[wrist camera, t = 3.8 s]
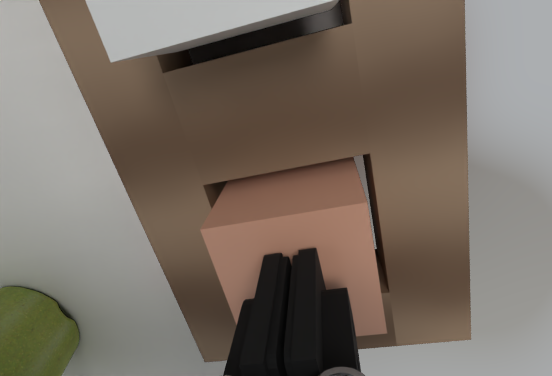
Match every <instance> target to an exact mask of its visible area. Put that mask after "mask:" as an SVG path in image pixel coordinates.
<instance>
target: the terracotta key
mask: <svg viewBox="0 0 552 376" xmlns="http://www.w3.org/2000/svg"><path fill="white" fill-rule="evenodd" d="M200 231H201V234H202V236H203V239H204V241H205V244H206V247H207V249H208V252H209V254H210V257H211V260H212V262H213V265H214V268H215V270H216V273H217V275H218V278H219V281H220V283H221V286H222V288H223V291H224V294H225V296H226V299H227V301H228V304H229V307H230V309H231V312H232V314H233V317H234V320H235V322H236V325H237V322H238V318H239V314H240V310H241V307H242V304H243V301H244V300H245V299H253V298H254V297H255V292H256V288H257V283H258V279H259V275H260V270H261V266H262V261H263V257H264V255H268V254H275V253H282V255H283V257H287V256H288V257H289V259H290V262H291V266H292V259H293V256H294V255H298V252H299V250H303V249H310V248H316V249H317V252H318V256H319V261H320V265H321V269H322V274H323V278H324V282H325V287H326V290H329V289H337V288H346V287H347V289H348V294H349V299H350V304H351V309H352V314H353V320H354V326H355V333H356V336H366V335H376V334H387V328H386V322H385V315H384V309H383V302H382V295H381V289H380V282H379V275H378V269H377V262H376V256H375V249H374V242H373V236H372V229H371V222H370V216H369V209H368V203H367V199H366V196H365V193H364V190H363V187H362V184H361V180H360V177H359V174H358V171H357V168H356V164H355V161H354V158H353V157H348V158H343V159H338V160H333V161H327V162H322V163H317V164H312V165H306V166H301V167H296V168H291V169H285V170H280V171H275V172H270V173H264V174H259V175H254V176H249V177H243V178H238V179H233V180H228V181H227V183H226V185H225V187H224V189H223V190H222V192H221V194H220V196H219V197H218V199H217V201H216V203H215V204H214V206H213V208H212V210H211V211H210V213H209V215H208V217H207V218H206V220H205V222H204V224H203V225H202V227H201V229H200Z"/></svg>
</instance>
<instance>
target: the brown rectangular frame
mask: <svg viewBox="0 0 552 376" xmlns="http://www.w3.org/2000/svg"><path fill="white" fill-rule="evenodd" d="M39 2H40V4H41V6H42V8H43V10H44V13H45V15H46V17H47V19H48V21H49V23H50V26H51V28H52V30H53V32H54V34H55V37H56V39H57V41H58V43H59V45H60V47H61V50H62V52H63V54H64V56H65V58H66V61H67V63H68V65H69V67H70V69H71V71H72V74H73V76H74V78H75V80H76V82H77V84H78V87H79V89H80V91H81V93H82V95H83V98H84V100H85V102H86V104H87V106H88V108H89V111H90V113H91V115H92V117H93V119H94V122H95V124H96V126H97V128H98V130H99V132H100V135H101V137H102V139H103V141H104V143H105V145H106V148H107V150H108V152H109V154H110V156H111V159H112V161H113V163H114V165H115V167H116V169H117V172H118V174H119V176H120V178H121V180H122V182H123V185H124V187H125V189H126V191H127V193H128V196H129V198H130V200H131V202H132V204H133V206H134V209H135V211H136V213H137V215H138V217H139V220H140V222H141V224H142V226H143V228H144V230H145V233H146V235H147V237H148V239H149V241H150V243H151V246H152V248H153V250H154V252H155V254H156V257H157V259H158V261H159V263H160V265H161V267H162V270H163V272H164V274H165V276H166V278H167V280H168V283H169V285H170V287H171V289H172V291H173V294H174V296H175V298H176V300H177V302H178V304H179V307H180V309H181V311H182V313H183V315H184V318H185V320H186V322H187V324H188V326H189V328H190V331H191V333H192V335H193V337H194V339H195V341H196V344H197V346H198V348H199V350H200V352H201V355H202V357H203V359H204V361H205V362H213V361H225V360H228V356H229V352H230V348H231V344H232V341H233V337H234V333H235V329H236V326H237V325H236V322H235V320H234V317H233V314H232V312H231V309H230V307H229V304H228V301H227V299H226V296H225V294H224V291H223V288H222V286H221V283H220V281H219V278H218V275H217V273H216V270H215V268H214V265H213V262H212V260H211V257H210V254H209V252H208V249H207V247H206V244H205V241H204V239H203V236H202V234H201V231H200V229H201V227H202V225H203V224H204V222H205V220H206V218H207V217H208V215H209V213H210V211H211V210H212V208H213V206H214V204H215V203H216V201H217V199H218V197H219V196H220V194H221V192H222V190H223V189H224V187H225V185H226V183H227V181H228V180H233V179H238V178H243V177H249V176H254V175H259V174H264V173H270V172H275V171H280V170H285V169H291V168H296V167H301V166H306V165H312V164H317V163H322V162H327V161H333V160H338V159H343V158H348V157H353V156H359V155H363V158H364V165H365V171H366V179H367V186H368V192H369V199H370V206H371V213H372V219H373V226H374V233H375V239H376V247H377V249H375V256H376V262H377V269H378V275H379V282H380V289H381V295H382V302H383V309H384V315H385V322H386V328H387V334H376V335H366V336H356V340H357V347H358V349H366V348H378V347H389V346H401V345H413V344H423V343H437V342H449V341H459V340H471V311H470V262H469V261H470V260H469V209H468V208H469V206H468V154H467V105H466V104H467V103H466V54H465V53H466V52H465V51H466V49H465V0H340V3H341V10H342V16H343V23H344V25H341V26H338V27H334V28H330V29H326V30H322V31H319V32H315V33H311V34H307V35H304V36H300V37H296V38H292V39H288V40H285V41H281V42H277V43H273V44H269V45H266V46H262V47H258V48H254V49H251V50H247V51H243V52H239V53H235V54H232V55H228V56H224V57H220V58H216V59H213V60H209V61H205V62H201V63H198V64H194V65H193V63H192V60H191V57H190V54H189V51H188V49H187V50H183V51H179V52H175V53H168V54H162V55H156V56H149V57H143V58H137V59H130V60H124V61H118V62H112V63H111V62H110V59H109V57H108V54H107V52H106V49H105V47H104V45H103V42H102V40H101V37H100V35H99V32H98V30H97V28H96V25H95V23H94V20H93V18H92V15H91V13H90V11H89V8H88V6H87V3H86V1H85V0H39Z"/></svg>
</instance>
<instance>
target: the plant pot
mask: <svg viewBox="0 0 552 376" xmlns="http://www.w3.org/2000/svg"><path fill="white" fill-rule="evenodd" d="M78 343H79V331H78V328H77V325H76V323H75V321H74V320H72V319H70V318H68V317H66V316H65V315H64V314H63V313H62V312H61V310H60V308H59V307H58V304H57V302H56V301H54V300H53V299H51V298H49V297H48V296H46V295H44V294H42V293H39V292H37V291H34V290H30V289H26V288H22V287H3V288H0V376H61V375H62V374H63V372H64V370H65V368H66V366H67V365H68V363H69V361H70V359H71V357H72V355H73V353H74V352H75V350H76V348H77V346H78Z"/></svg>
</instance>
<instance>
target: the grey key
mask: <svg viewBox="0 0 552 376" xmlns="http://www.w3.org/2000/svg"><path fill="white" fill-rule="evenodd" d="M85 1H86V3H87V6H88V8H89V11H90V13H91V15H92V18H93V20H94V23H95V25H96V28H97V30H98V32H99V35H100V37H101V40H102V42H103V45H104V47H105V49H106V52H107V54H108V57H109V59H110V62H111V63H112V62H118V61H124V60H130V59H137V58H143V57H149V56H156V55H162V54H168V53H175V52H179V51H183V50H187V49H190V48H194V47H198V46H201V45H205V44H209V43H212V42H216V41H220V40H223V39H227V38H230V37H234V36H238V35H241V34H245V33H249V32H252V31H256V30H260V29H263V28H267V27H271V26H274V25H278V24H281V23H285V22H289V21H292V20H296V19H300V18H303V17H307V16H311V15H314V14H318V13H322V12H325V11H329V10H331V9H332V8H333V7H334V6H335V5H336V4H337V2H338V1H339V0H85Z"/></svg>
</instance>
